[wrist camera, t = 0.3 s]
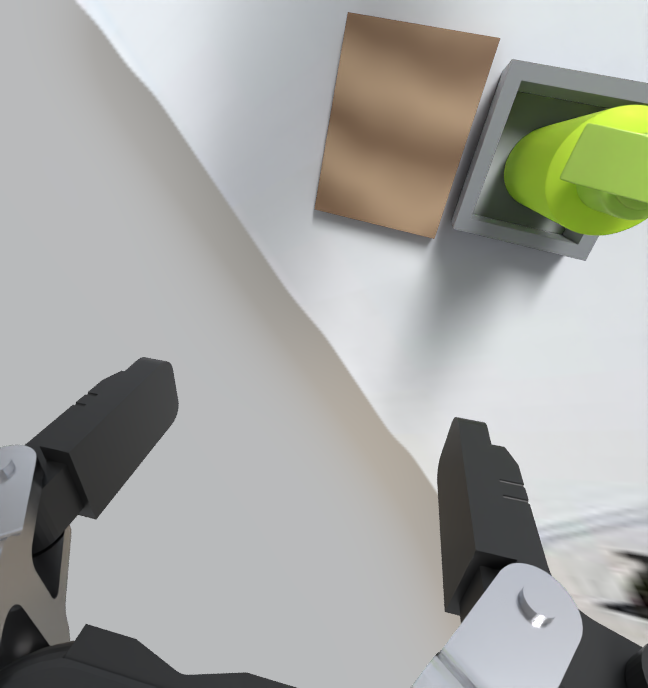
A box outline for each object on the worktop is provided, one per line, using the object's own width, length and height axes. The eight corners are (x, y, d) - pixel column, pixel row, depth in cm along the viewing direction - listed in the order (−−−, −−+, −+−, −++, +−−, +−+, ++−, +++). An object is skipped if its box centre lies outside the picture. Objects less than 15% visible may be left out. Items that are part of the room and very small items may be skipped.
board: (351, 18, 29) (347, 12, 28) (497, 43, 27) (500, 38, 26) (318, 207, 36) (314, 209, 34) (434, 235, 34) (434, 238, 33)
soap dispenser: (511, 113, 29) (629, 47, 12) (604, 136, 28) (877, 103, 11) (478, 192, 32) (534, 235, 14) (561, 215, 31) (725, 290, 14)
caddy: (502, 71, 28) (512, 59, 25) (645, 97, 27) (677, 88, 23) (451, 221, 33) (453, 228, 30) (568, 249, 32) (585, 260, 29)
